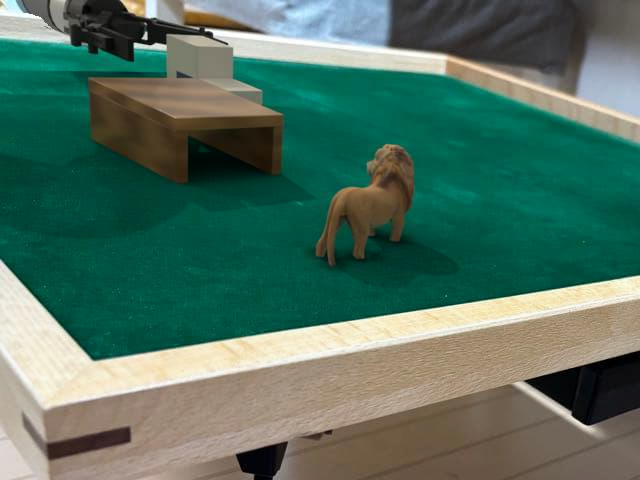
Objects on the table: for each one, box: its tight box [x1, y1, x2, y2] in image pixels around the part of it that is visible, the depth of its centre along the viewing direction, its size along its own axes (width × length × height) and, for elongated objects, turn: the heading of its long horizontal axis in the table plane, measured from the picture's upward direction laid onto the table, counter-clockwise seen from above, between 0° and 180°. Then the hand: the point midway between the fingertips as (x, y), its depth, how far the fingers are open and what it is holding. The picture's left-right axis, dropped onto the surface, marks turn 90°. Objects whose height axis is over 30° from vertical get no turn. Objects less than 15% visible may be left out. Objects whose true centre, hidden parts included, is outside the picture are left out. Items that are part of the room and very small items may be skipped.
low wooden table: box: [87, 77, 285, 184], centre depth 89 cm, size 15×12×7 cm
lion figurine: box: [315, 143, 415, 267], centre depth 76 cm, size 15×5×9 cm, turn 169°
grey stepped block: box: [166, 34, 264, 106], centre depth 111 cm, size 13×6×8 cm, turn 52°
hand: (180, 52), depth 114 cm, fingers open, 13 cm apart
